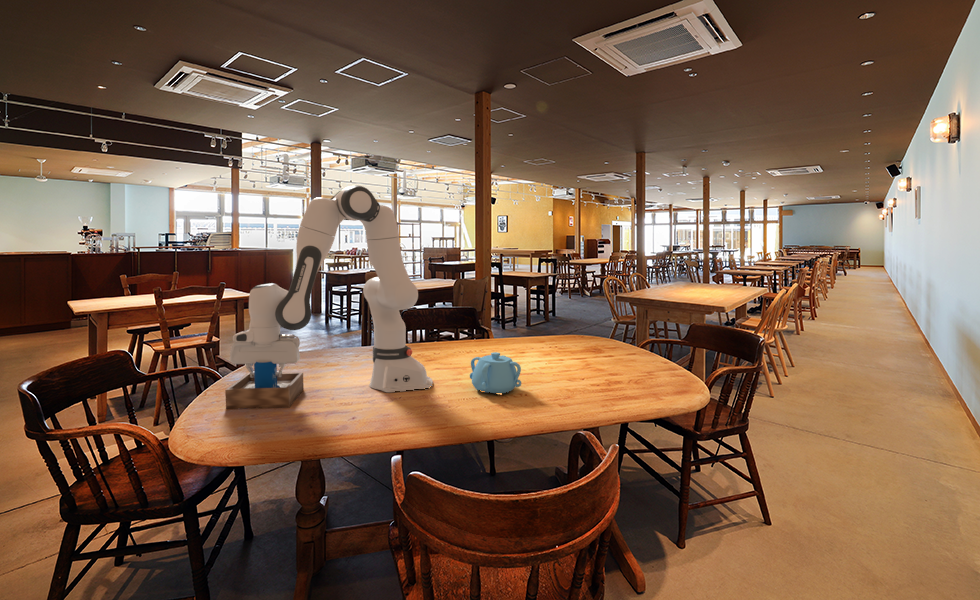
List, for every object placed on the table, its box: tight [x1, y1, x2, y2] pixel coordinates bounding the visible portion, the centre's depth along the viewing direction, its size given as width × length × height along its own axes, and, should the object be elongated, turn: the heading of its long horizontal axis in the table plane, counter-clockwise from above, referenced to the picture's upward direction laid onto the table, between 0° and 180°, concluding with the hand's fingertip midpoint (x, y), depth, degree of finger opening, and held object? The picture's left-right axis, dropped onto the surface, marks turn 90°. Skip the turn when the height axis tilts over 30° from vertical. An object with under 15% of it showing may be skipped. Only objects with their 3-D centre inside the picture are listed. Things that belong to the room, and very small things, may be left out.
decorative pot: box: [469, 351, 522, 394], centre depth 163 cm, size 16×16×14 cm
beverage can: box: [253, 361, 278, 388], centre depth 148 cm, size 6×6×12 cm
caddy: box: [224, 372, 305, 410], centre depth 149 cm, size 18×18×6 cm
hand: (266, 376), depth 148 cm, fingers closed on beverage can, 6 cm apart
